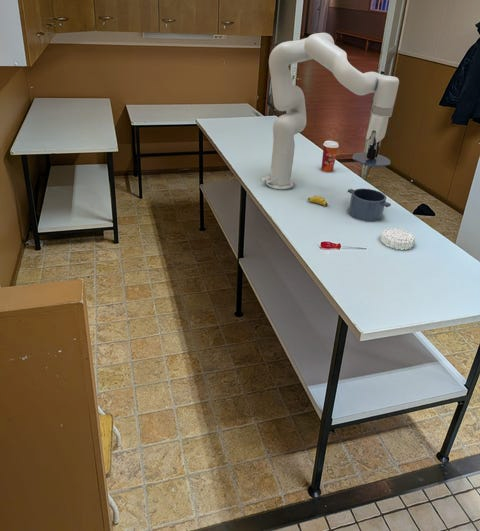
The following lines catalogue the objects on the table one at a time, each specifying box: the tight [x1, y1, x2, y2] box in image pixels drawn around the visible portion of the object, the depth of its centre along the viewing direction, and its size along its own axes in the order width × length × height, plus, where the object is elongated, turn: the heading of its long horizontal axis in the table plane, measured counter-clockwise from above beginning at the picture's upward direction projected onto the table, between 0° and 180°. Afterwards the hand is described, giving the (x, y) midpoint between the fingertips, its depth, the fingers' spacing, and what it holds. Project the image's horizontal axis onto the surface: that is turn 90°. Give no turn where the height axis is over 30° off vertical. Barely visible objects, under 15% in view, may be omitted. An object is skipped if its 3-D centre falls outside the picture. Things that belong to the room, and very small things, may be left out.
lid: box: [352, 147, 391, 168], centre depth 197 cm, size 15×15×6 cm
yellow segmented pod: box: [307, 195, 329, 207], centre depth 211 cm, size 9×3×3 cm, turn 60°
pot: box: [347, 188, 392, 222], centre depth 203 cm, size 14×19×8 cm
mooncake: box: [379, 227, 416, 251], centre depth 184 cm, size 12×12×4 cm
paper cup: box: [321, 140, 340, 173], centre depth 245 cm, size 8×8×14 cm
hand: (371, 157), depth 197 cm, fingers closed on lid, 2 cm apart
